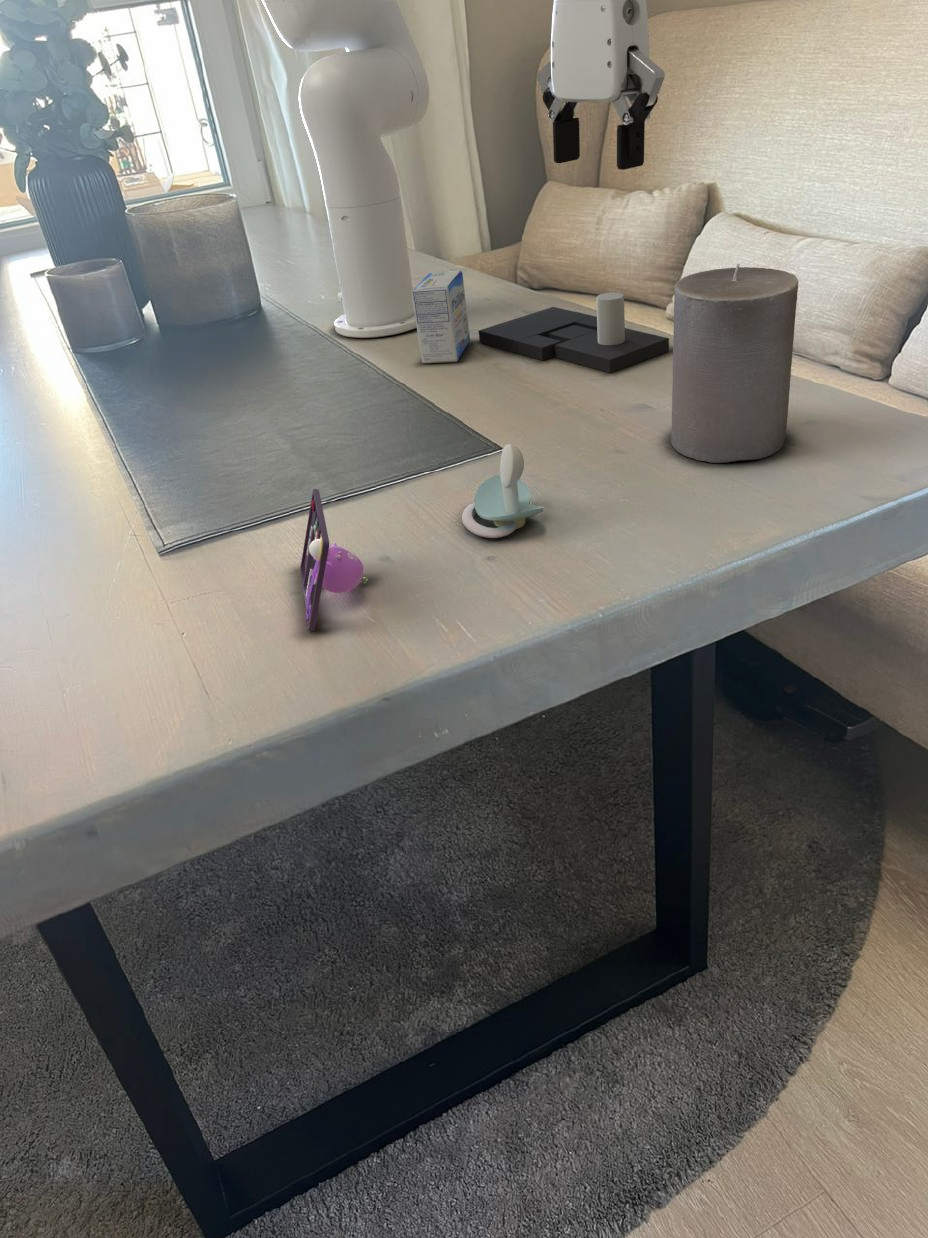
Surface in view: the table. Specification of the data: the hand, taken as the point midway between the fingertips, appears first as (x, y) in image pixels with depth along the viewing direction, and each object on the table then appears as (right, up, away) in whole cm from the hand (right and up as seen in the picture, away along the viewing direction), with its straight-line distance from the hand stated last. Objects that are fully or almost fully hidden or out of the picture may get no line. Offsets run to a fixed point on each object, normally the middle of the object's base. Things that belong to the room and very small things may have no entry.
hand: (597, 163), depth 98 cm
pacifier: (-11, -40, -24) cm, 48 cm away
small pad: (+2, -17, +9) cm, 19 cm away
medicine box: (-16, -16, +15) cm, 27 cm away
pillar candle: (+9, -32, -16) cm, 37 cm away
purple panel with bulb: (-23, -46, -30) cm, 60 cm away
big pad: (-4, -13, +16) cm, 21 cm away
